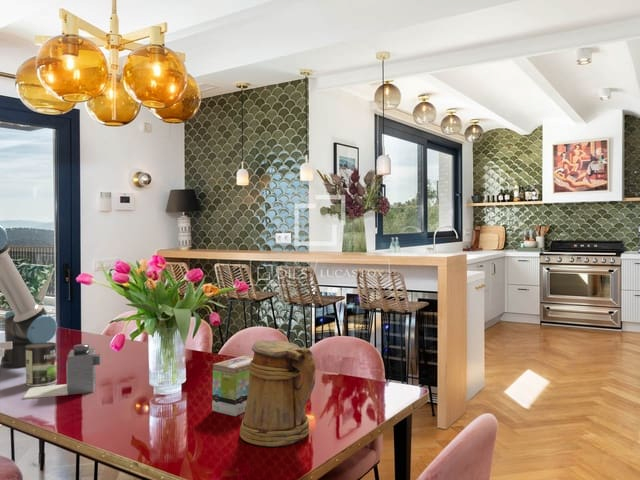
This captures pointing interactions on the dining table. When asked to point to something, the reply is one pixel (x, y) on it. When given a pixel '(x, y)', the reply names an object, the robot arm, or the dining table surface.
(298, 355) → the tankard
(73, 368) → the motor block
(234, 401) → the tea box
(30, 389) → the mount pad
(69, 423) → the dining table surface
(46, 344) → the coffee can
